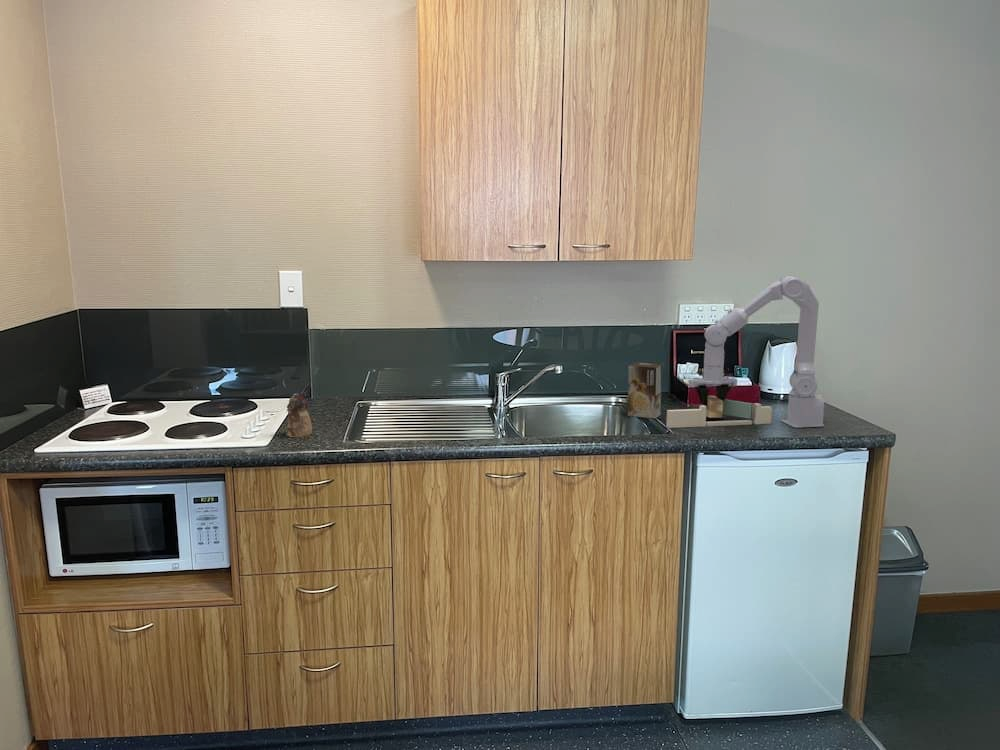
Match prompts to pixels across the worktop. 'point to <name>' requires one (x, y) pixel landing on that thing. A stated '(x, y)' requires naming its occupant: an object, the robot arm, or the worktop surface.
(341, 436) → the worktop surface
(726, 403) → the door
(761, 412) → the door frame
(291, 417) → the figurine
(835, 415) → the worktop surface
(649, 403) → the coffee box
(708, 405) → the doorstop
